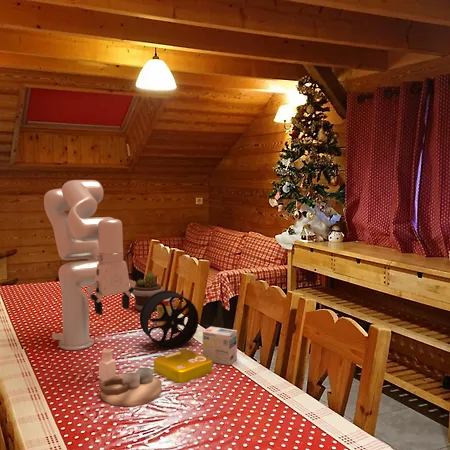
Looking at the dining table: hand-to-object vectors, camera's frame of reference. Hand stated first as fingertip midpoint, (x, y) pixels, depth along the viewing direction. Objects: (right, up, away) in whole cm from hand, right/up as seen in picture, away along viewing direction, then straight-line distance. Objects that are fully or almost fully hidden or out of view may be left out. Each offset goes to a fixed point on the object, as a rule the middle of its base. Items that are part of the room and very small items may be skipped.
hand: (112, 311), depth 159 cm
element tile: (+22, -22, +6) cm, 32 cm away
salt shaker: (-1, -22, -1) cm, 22 cm away
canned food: (+11, -16, +53) cm, 56 cm away
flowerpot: (-1, -13, +77) cm, 78 cm away
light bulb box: (+34, -20, +16) cm, 43 cm away
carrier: (+8, -23, -10) cm, 26 cm away
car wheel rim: (+15, -18, +30) cm, 38 cm away
